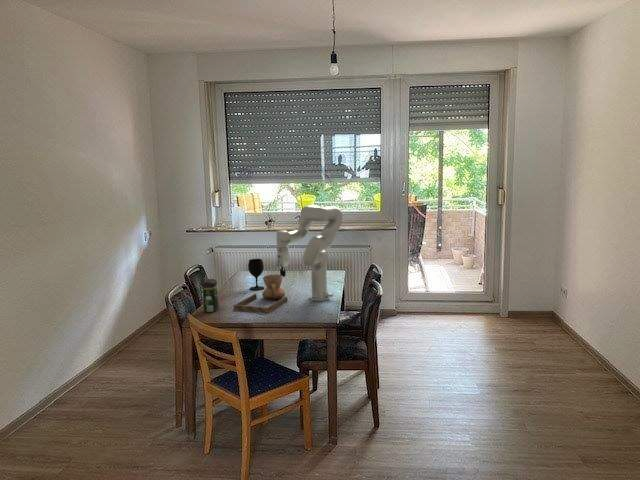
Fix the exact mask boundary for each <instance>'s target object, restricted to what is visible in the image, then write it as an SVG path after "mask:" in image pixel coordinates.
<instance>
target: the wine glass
mask: <svg viewBox="0 0 640 480" xmlns="http://www.w3.org/2000/svg"><path fill="white" fill-rule="evenodd" d="M247 267H248V273H249V274H250V275H252V277H254V279H255V285H254V286H250V287H249V290H250V291H255V292H259V291H264V290H265V287H264V286H259V285H258V278H259V276H261V275H262V274H263V272H264V269H265V268H264V267H265V265H264V261H263V259H260V258H251V259H249V260H248V264H247Z"/></svg>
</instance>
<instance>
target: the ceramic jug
mask: <svg viewBox="0 0 640 480" xmlns="http://www.w3.org/2000/svg"><path fill="white" fill-rule="evenodd" d="M262 279H263V280H262V281H263V282H264V285H265V287H266V288H264V289H263V290H262V293H261V295H262V297H263V298H264V299H267V300H273V301H275V300H280V299H282V298H284V297H285V295H286V291H285V290H284V289H283V288H282V287H281V285H282V282H283V277H282V275H280V274H267V275H264V276H263V277H262Z"/></svg>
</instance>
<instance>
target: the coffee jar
mask: <svg viewBox="0 0 640 480" xmlns="http://www.w3.org/2000/svg"><path fill="white" fill-rule="evenodd" d="M201 289H202V298H203V301H202V302H203V303H202V304H203V312H205V313H216V312H217V311H218V310H219V308H220V307H219V306H220V305H219V297H218V296H219V295H218V282H217V280H216V279H215V278H207V279H206V280H204V281H202V283H201Z"/></svg>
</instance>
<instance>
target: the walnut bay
mask: <svg viewBox="0 0 640 480" xmlns="http://www.w3.org/2000/svg"><path fill="white" fill-rule="evenodd" d="M257 298H258V297H257V293H254V294H251V295H250V296H248V297H246V298H244V299H242V300H240V301H239V302H236V303H235V304H233V311H240V312H250V313H259V314H260V313H261V314H271V312H273V311H275V310H277V309H278V308H279V307H282V305H285V304H286V303H287V302H288V296H283V297H282V298H280V299H278V300H277V301H276V302H274V303H271V305H269V306H267V307H265V306H255V305H248V304H250V303H252V302H253V301H256V300H258V299H257Z"/></svg>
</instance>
